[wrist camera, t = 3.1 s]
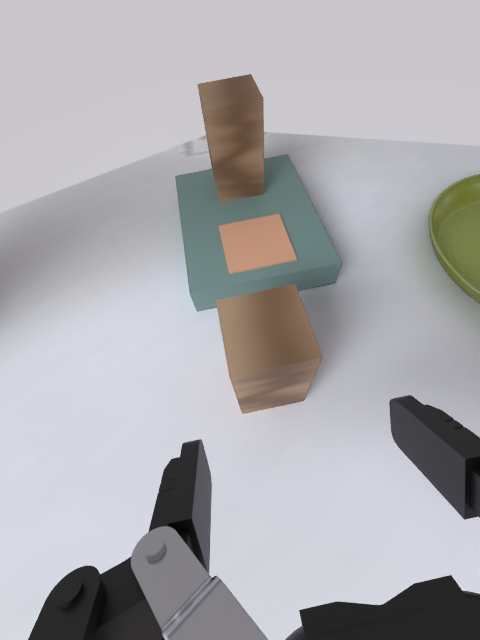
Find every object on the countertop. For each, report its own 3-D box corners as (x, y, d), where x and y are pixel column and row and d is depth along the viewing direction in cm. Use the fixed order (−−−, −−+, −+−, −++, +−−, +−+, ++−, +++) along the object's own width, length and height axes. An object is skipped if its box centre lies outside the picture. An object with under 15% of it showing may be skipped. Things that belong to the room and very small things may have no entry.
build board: (196, 311, 28) (189, 292, 25) (181, 197, 37) (174, 174, 34) (335, 283, 28) (342, 261, 25) (286, 177, 37) (287, 152, 34)
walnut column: (219, 202, 31) (204, 109, 23) (213, 176, 34) (197, 84, 26) (264, 194, 31) (263, 98, 24) (254, 168, 34) (250, 74, 26)
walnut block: (242, 414, 23) (229, 377, 15) (231, 357, 25) (216, 300, 17) (303, 400, 23) (322, 357, 15) (286, 345, 25) (295, 284, 17)
